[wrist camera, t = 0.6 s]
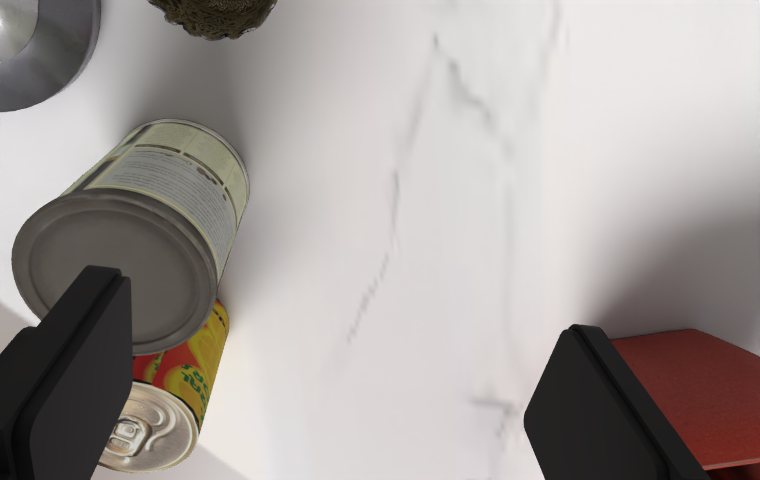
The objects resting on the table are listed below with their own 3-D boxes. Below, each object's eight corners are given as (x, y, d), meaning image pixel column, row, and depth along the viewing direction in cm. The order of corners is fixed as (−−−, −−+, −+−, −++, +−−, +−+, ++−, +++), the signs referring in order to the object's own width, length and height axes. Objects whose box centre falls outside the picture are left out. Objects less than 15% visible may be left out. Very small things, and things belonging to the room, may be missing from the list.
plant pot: (700, 432, 59) (822, 590, 44) (535, 455, 59) (603, 622, 44) (738, 296, 50) (908, 438, 35) (542, 322, 49) (631, 477, 35)
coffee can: (239, 253, 43) (201, 370, 31) (108, 225, 41) (11, 339, 29) (262, 137, 39) (229, 221, 26) (117, 99, 37) (7, 171, 24)
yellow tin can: (244, 302, 46) (217, 405, 35) (209, 372, 49) (175, 485, 39) (141, 264, 43) (79, 363, 33) (112, 342, 47) (47, 453, 36)
